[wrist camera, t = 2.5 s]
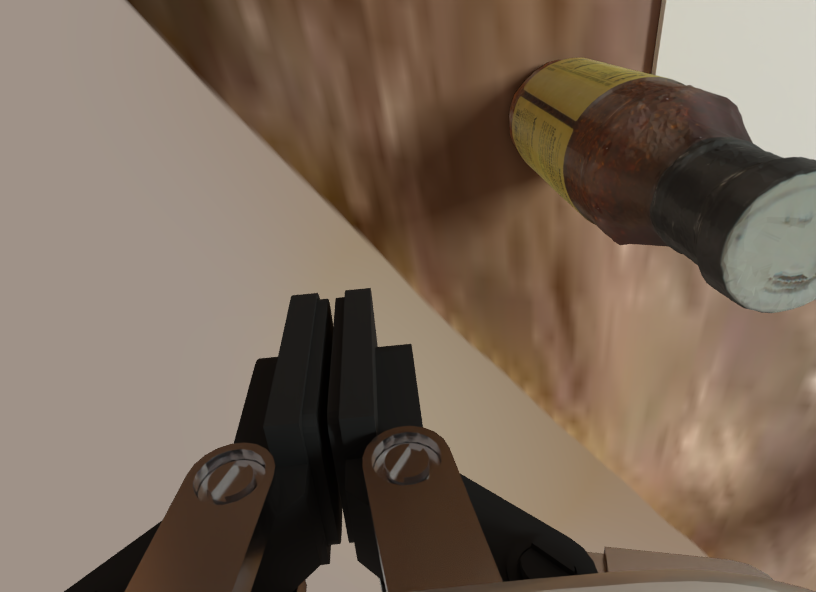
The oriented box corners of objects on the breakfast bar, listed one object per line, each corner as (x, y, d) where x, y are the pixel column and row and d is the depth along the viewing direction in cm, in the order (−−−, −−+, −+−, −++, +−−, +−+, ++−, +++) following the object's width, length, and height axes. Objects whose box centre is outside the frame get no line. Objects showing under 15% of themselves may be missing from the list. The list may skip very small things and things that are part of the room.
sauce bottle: (568, 184, 34) (774, 397, 17) (482, 134, 32) (614, 315, 15) (639, 84, 31) (972, 214, 14) (550, 24, 29) (806, 87, 12)
